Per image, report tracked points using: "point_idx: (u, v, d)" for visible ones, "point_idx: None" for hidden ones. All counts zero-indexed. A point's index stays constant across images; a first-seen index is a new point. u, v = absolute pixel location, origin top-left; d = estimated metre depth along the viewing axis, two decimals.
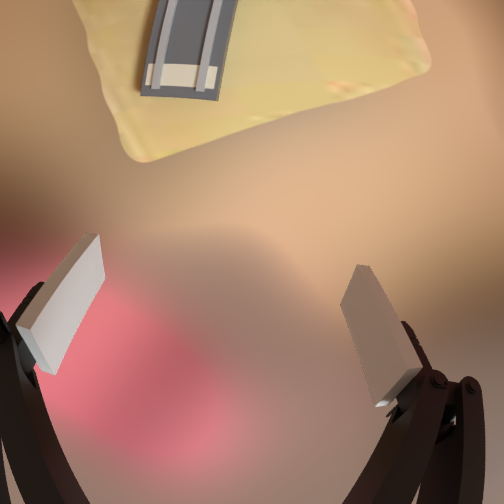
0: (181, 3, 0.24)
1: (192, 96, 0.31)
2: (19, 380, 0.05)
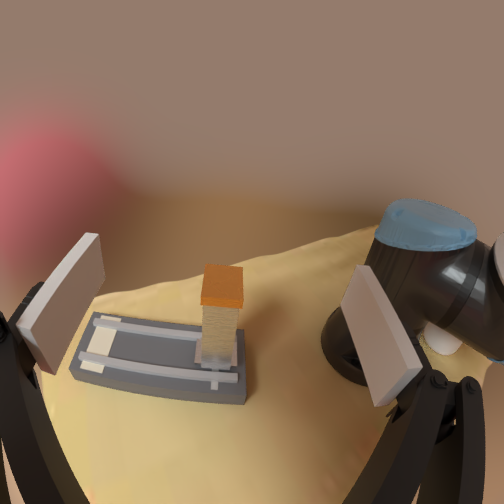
0: (184, 343, 0.33)
1: (78, 350, 0.28)
2: (19, 380, 0.05)
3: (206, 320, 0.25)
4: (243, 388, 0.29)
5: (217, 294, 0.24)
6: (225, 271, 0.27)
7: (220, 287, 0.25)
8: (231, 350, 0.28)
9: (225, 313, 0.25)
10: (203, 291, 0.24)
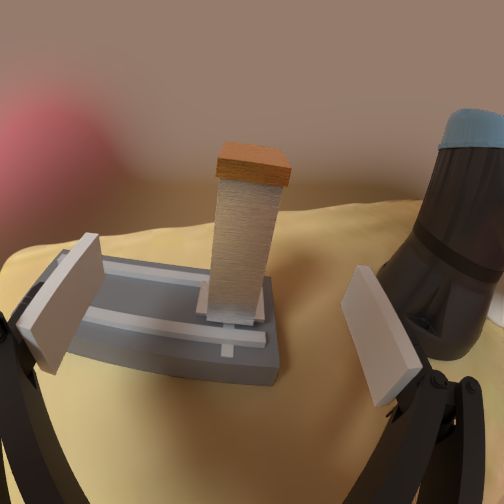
0: (182, 289, 0.23)
1: None
2: (19, 380, 0.05)
3: (223, 214, 0.15)
4: (274, 356, 0.18)
5: (246, 159, 0.14)
6: (256, 148, 0.17)
7: (250, 155, 0.14)
8: (259, 284, 0.17)
9: (257, 198, 0.14)
10: (222, 155, 0.14)
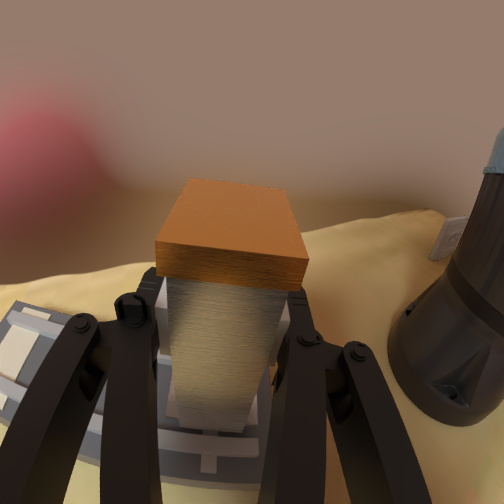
0: None
1: None
2: (148, 374, 0.07)
3: (182, 328, 0.08)
4: None
5: (216, 238, 0.07)
6: (241, 192, 0.10)
7: (227, 221, 0.08)
8: (249, 402, 0.11)
9: (241, 308, 0.08)
10: (168, 228, 0.07)
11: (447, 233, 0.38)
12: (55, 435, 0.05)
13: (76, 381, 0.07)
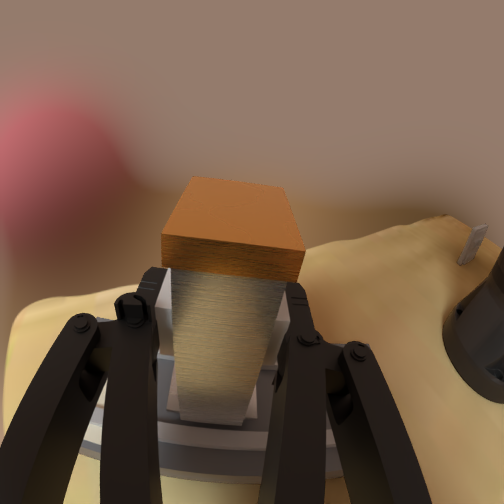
0: None
1: None
2: (148, 374, 0.07)
3: (185, 319, 0.09)
4: None
5: (218, 231, 0.07)
6: (242, 190, 0.10)
7: (228, 216, 0.08)
8: (249, 393, 0.11)
9: (241, 298, 0.08)
10: (173, 222, 0.07)
11: (473, 240, 0.39)
12: (55, 435, 0.05)
13: (76, 381, 0.07)
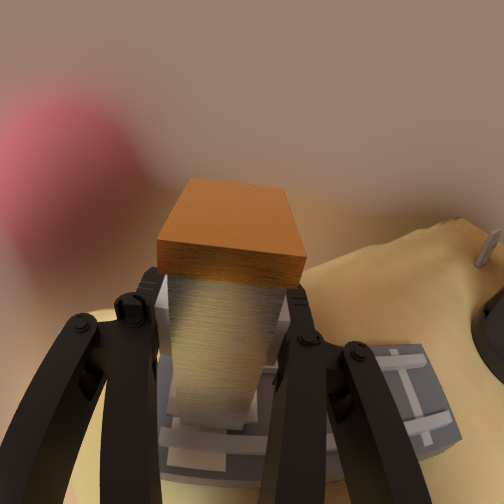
0: None
1: None
2: (147, 374, 0.07)
3: (183, 325, 0.08)
4: (456, 430, 0.13)
5: (215, 236, 0.07)
6: (241, 192, 0.10)
7: (226, 220, 0.08)
8: (249, 399, 0.11)
9: (240, 305, 0.08)
10: (169, 226, 0.07)
11: (490, 244, 0.40)
12: (55, 435, 0.05)
13: (76, 380, 0.07)
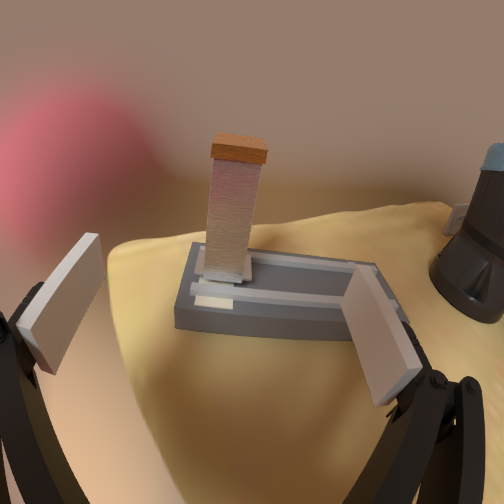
0: (324, 273, 0.28)
1: (183, 283, 0.24)
2: (19, 380, 0.05)
3: (216, 186, 0.19)
4: (404, 316, 0.24)
5: (233, 144, 0.18)
6: (242, 137, 0.21)
7: (237, 141, 0.19)
8: (246, 244, 0.22)
9: (242, 173, 0.19)
10: (215, 141, 0.18)
11: (456, 214, 0.51)
12: None
13: None
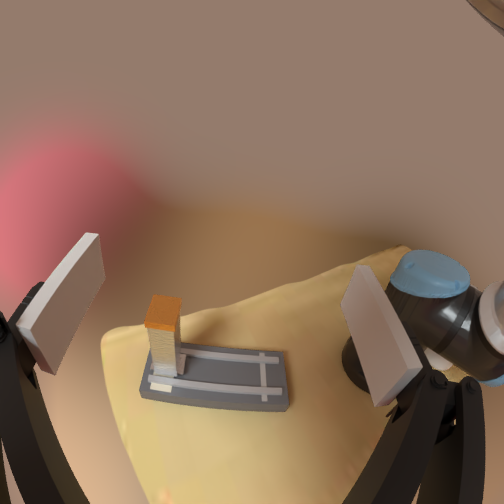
0: (236, 364, 0.41)
1: (145, 373, 0.36)
2: (19, 380, 0.05)
3: (152, 338, 0.32)
4: (286, 399, 0.36)
5: (156, 320, 0.30)
6: (167, 301, 0.33)
7: (160, 314, 0.31)
8: (174, 361, 0.34)
9: (164, 334, 0.31)
10: (146, 317, 0.30)
11: None
12: None
13: None
